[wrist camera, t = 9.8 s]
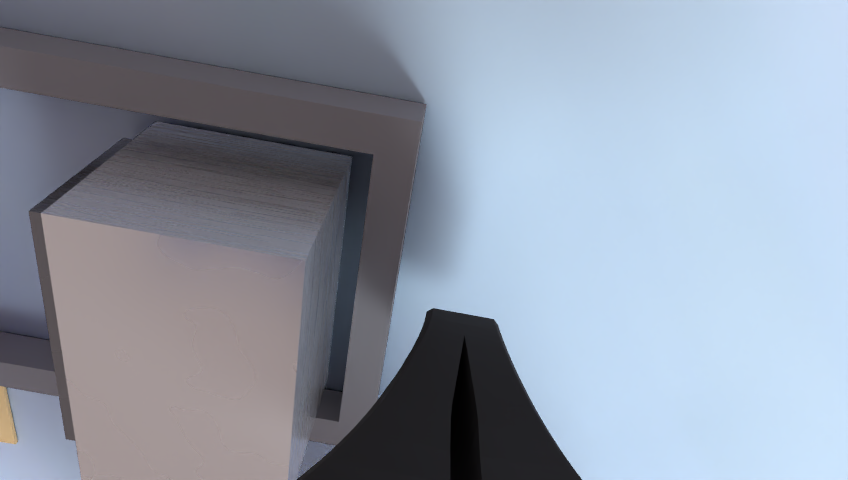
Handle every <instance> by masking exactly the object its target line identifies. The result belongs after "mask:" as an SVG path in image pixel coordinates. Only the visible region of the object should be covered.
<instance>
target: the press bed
mask: <svg viewBox="0 0 848 480" xmlns="http://www.w3.org/2000/svg"><path fill="white" fill-rule="evenodd" d="M0 88H6V89H12V90H17V91H23V92H28V93H34V94H39V95H45V96H51V97H56V98H62V99H67V100H73V101H78V102H84V103H89V104H95V105H101V106H106V107H112V108H117V109H123V110H128V111H134V112H140V113H145V114H151V115H156V116H162V117H167V118H173V119H178V120H184V121H190V122H195V123H201V124H206V125H212V126H217V127H223V128H229V129H234V130H240V131H245V132H251V133H256V134H262V135H267V136H273V137H279V138H284V139H290V140H295V141H301V142H306V143H312V144H318V145H323V146H329V147H334V148H340V149H345V150H351V151H356V152H362V153H368V154H373V161H372V169H371V177H370V184H369V192H368V200H367V208H366V215H365V223H364V231H363V239H362V247H361V254H360V262H359V270H358V278H357V285H356V293H355V301H354V309H353V316H352V324H351V332H350V340H349V348H348V355H347V363H346V371H345V379H344V386H343V392H338V391H333V390H327V389H324V392H323V395H322V398H321V401H320V405H319V408H318V411H317V414H316V418H315V421H314V424H313V427H312V431H311V434H310V437H309V441H315V442H321V443H326V444H332V445H337V444H338V443H339V442H340V441H341V440H342V439H343V438H344V437H345V436H346V435H347V434H348V433H349V432H350V431H351V430H352V429H353V428H354V427H355V426H356V425H357V424H358V423H359V422H360V420H361V419H362V418H363V417H364V416H365V415H366V414H367V412H368V411H369V410H370V409H371V408H372V406H373V405H374V404H375V403H376V402H377V400H378V394H379V388H380V382H381V376H382V370H383V364H384V358H385V352H386V346H387V340H388V334H389V328H390V322H391V316H392V310H393V304H394V297H395V291H396V285H397V279H398V273H399V267H400V261H401V255H402V249H403V243H404V237H405V231H406V225H407V219H408V213H409V207H410V201H411V195H412V189H413V183H414V177H415V171H416V165H417V159H418V153H419V147H420V141H421V135H422V129H423V123H424V116H425V110H426V104H423V103H417V102H412V101H406V100H401V99H395V98H390V97H384V96H379V95H373V94H368V93H362V92H357V91H351V90H345V89H340V88H334V87H329V86H323V85H318V84H312V83H307V82H301V81H296V80H290V79H284V78H279V77H273V76H268V75H262V74H257V73H251V72H246V71H240V70H235V69H229V68H224V67H218V66H212V65H207V64H201V63H196V62H190V61H185V60H179V59H174V58H168V57H163V56H157V55H151V54H146V53H140V52H135V51H129V50H124V49H118V48H113V47H107V46H102V45H96V44H91V43H85V42H79V41H74V40H68V39H63V38H57V37H52V36H46V35H41V34H35V33H30V32H24V31H19V30H13V29H7V28H2V27H0ZM6 387H9V388H14V389H20V390H26V391H31V392H37V393H43V394H48V395H54V396H59V394H58V388H57V382H56V376H55V369H54V363H53V357H52V351H51V345H50V340H44V339H39V338H33V337H28V336H22V335H16V334H11V333H5V332H0V442H5V443H11V444H16V443H17V442H18V441H17V436H16V432H15V427H14V422H13V418H12V413H11V408H10V404H9V399H8V395H7V390H6Z"/></svg>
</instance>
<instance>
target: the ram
mask: <svg viewBox="0 0 848 480" xmlns="http://www.w3.org/2000/svg"><path fill="white" fill-rule="evenodd" d="M351 163H352V156H346V155H341V154H335V153H330V152H324V151H318V150H313V149H307V148H302V147H296V146H291V145H285V144H279V143H274V142H268V141H263V140H257V139H252V138H246V137H241V136H235V135H229V134H224V133H218V132H213V131H207V130H202V129H196V128H190V127H185V126H179V125H174V124H168V123H163V122H157V121H156V122H155V123H153V124H152V125H151V126H149V127H148V128H147V129H146V130H144V131H143V132H142V133H141V134H139V135H138V136H137V137H136V138H134V139H133V140H131V139H125V138H123V139H121V140H120V141H119V142H118V143H116V144H115V145H114V146H112V147H111V148H110V149H108V150H107V151H106V152H105V153H103V154H102V155H101V156H99V157H98V158H97V159H95V160H94V161H93V162H92V163H90V164H89V165H88V166H86V167H85V168H84V169H83V170H81V171H80V172H79V173H77V174H76V175H75V176H73V177H72V178H71V179H70V180H68V181H67V182H66V183H64V184H63V185H62V186H61V187H59V188H58V189H57V190H55V191H54V192H53V193H51V194H50V195H49V196H48V197H46V198H45V199H44V200H42V201H41V202H40V203H39V204H37V205H36V206H35V207H33V208H32V209H31V210H29V216H30V222H31V228H32V235H33V241H34V247H35V253H36V259H37V265H38V271H39V277H40V284H41V290H42V296H43V302H44V308H45V314H46V320H47V326H48V333H49V339H50V345H51V351H52V357H53V363H54V369H55V376H56V382H57V388H58V394H59V400H60V406H61V412H62V418H63V425H64V431H65V437H66V439H69V440H75V441H76V447H77V454H78V460H79V467H80V473H81V480H297V476H298V473H299V470H300V467H301V463H302V460H303V457H304V454H305V450H306V447H307V444H308V440H309V437H310V434H311V431H312V427H313V424H314V421H315V418H316V414H317V411H318V408H319V405H320V401H321V398H322V395H323V392H324V388H325V385H326V382H327V378H328V369H329V360H330V351H331V342H332V333H333V324H334V315H335V306H336V297H337V288H338V279H339V270H340V261H341V253H342V244H343V235H344V226H345V217H346V208H347V199H348V190H349V181H350V172H351Z"/></svg>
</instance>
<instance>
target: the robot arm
mask: <svg viewBox="0 0 848 480" xmlns="http://www.w3.org/2000/svg"><path fill="white" fill-rule="evenodd" d="M297 480H582V479H581V478H580V476H579V475H578V474H577V473H576V471H575V470H574V469H573V467H572V466H571V464H570V463H569V461H568V460H567V459H566V457H565V456H564V454H563V453H562V451H561V450H560V448H559V447H558V445H557V444H556V442H555V441H554V439H553V438H552V436H551V434H550V433H549V431H548V430H547V428H546V426H545V425H544V423H543V421H542V419H541V418H540V416H539V414H538V413H537V411H536V409H535V407H534V405H533V403H532V402H531V400H530V398H529V396H528V394H527V392H526V390H525V388H524V386H523V384H522V382H521V380H520V378H519V376H518V374H517V372H516V370H515V367H514V365H513V363H512V361H511V358H510V356H509V354H508V351H507V349H506V346H505V344H504V341H503V339H502V336H501V333H500V330H499V327H498V325H497V323H496V322H495V320H494V319H490V318H484V317H479V316H473V315H467V314H462V313H456V312H451V311H445V310H440V309H434V308H433V309H431V310H429V311H427V313H426V317H425V322H424V325H423V327H422V330H421V332H420V334H419V337H418V339H417V341H416V343H415V345H414V346H413V348H412V350H411V352H410V353H409V355H408V357H407V358H406V360H405V362H404V363H403V365H402V367H401V368H400V370H399V371H398V373H397V374H396V376H395V377H394V379H393V380H392V381H391V383H390V384H389V385H388V387H387V388H386V390H385V391H384V392H383V394H382V395H381V396H380V398H379V399H378V400H377V402H376V403H375V404H374V405H373V406H372V408H371V409H370V410H369V411H368V412H367V414H366V415H365V416H364V417H363V418H362V419H361V420H360V422H359V423H358V424H357V425H356V426H355V427H354V428H353V429H352V430H351V431H350V432H349V433H348V434H347V435H346V436H345V437H344V438H343V439H342V440H341V441H340V442H339V443H338V444H337V445H336V446H335V447H334V448H333V449H332V450H331V451H330V452H329V453H328V454H327V455H326V456H325V457H323V458H322V459H321V460H320V461H319V462H318V463H317V464H315V465H314V466H313V467H312V468H310V469H309V470H308V471H307V472H306V473H304V474H303V475H302V476H301V477H299V478H298V479H297Z"/></svg>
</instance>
